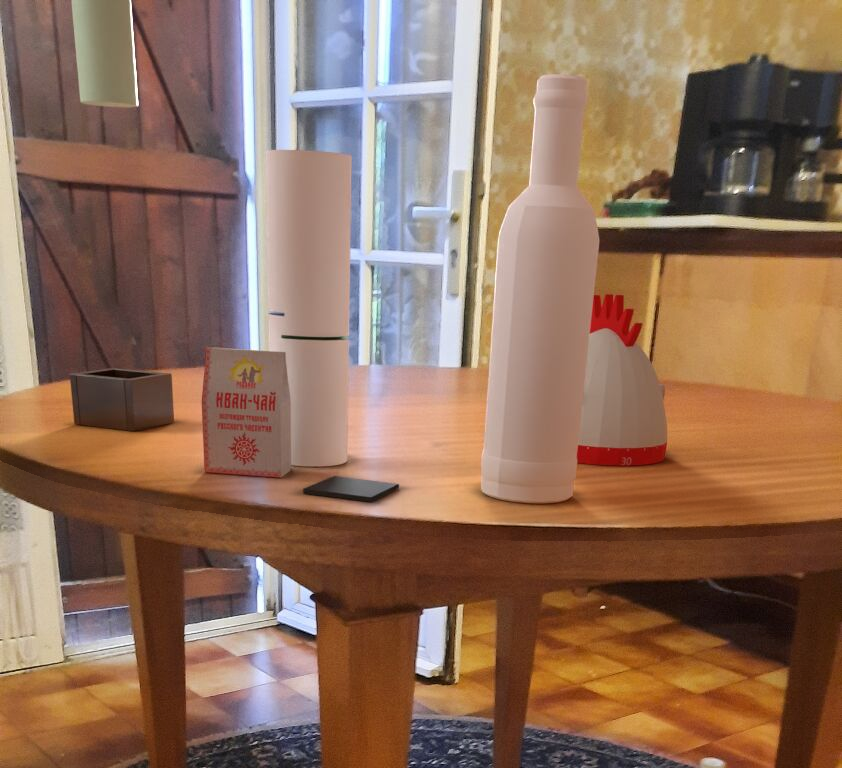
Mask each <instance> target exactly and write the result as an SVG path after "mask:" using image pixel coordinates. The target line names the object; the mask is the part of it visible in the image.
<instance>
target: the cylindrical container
mask: <svg viewBox="0 0 842 768" xmlns="http://www.w3.org/2000/svg"><path fill="white" fill-rule="evenodd" d="M352 157H353V156H352V154H346V153H340V152H334V151H333V152H331V151H323V150H321V151H320V150H307V149H306V150H304V149H268V150H265V192H266V193H265V194H266V197H265V199H266V202H265V203H266V249H267V250H266V253H267V254H266V255H267V256H266V257H267V258H266V259H267V260H266V262H267V263H266V264H267V311H269V312H268V351H276V352H285V353H286V366H287V375H288V383H289V391H290V399H291V466H296V467H312V468H313V467H331V466H332V467H333V466H338V465H343V464H345V463H347V462H348V455H349V454H348V451H349V450H348V448H349V446H348V445H349V386H350V385H349V382H350V377H349V376H350V375H349V374H350V337H349V336H350V313H351V312H350V311H351V310H350V307H351V306H350V305H351V302H350V301H351V300H350V299H351V240H352V239H351V232H352V231H351V229H352V227H351V226H352V167H353V166H352V164H353V163H352V162H353V161H352Z"/></svg>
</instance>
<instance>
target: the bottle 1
mask: <svg viewBox="0 0 842 768" xmlns="http://www.w3.org/2000/svg"><path fill="white" fill-rule="evenodd" d="M70 1H71V13H72V25H73V31H74V32H73V33H74V34H73V36H74V45H75V56H76V57H75V58H76V68H77V78H78V89H79V90H78V91H79V101H80V103H81V104H84V105H89V106H98V107H108V108H110V107H111V108H137V107H139V99H138V98H139V96H138V82H137V69H136V55H135V54H136V53H135V40H134V38H135V37H134V25H133V11H132V10H133V9H132V0H70Z"/></svg>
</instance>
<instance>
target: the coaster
mask: <svg viewBox="0 0 842 768" xmlns="http://www.w3.org/2000/svg"><path fill="white" fill-rule="evenodd" d="M399 489H400V484H399V483H396V482H386V481H379V480H370V479H363V478H353V477H347V476H338V475H333V476H331V477H328V478H326V479H324V480H321V481H318V482H315V483H314V484H311V485H308V486H306V487H304V488H302V493H303V494H304V495H313V496H320V497H328V498H329V497H330V498H334V499H335V498H336V499H343V500H352V501H359V502H366V503H373V502H374V501H376V500H379V499H380V498H383V497H384V496H386V495H389V494H391V493H393V492H394V491H397V490H399Z"/></svg>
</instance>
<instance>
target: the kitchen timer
mask: <svg viewBox="0 0 842 768" xmlns="http://www.w3.org/2000/svg"><path fill="white" fill-rule="evenodd" d="M624 305H625V296H624V295H623V294H615V296H614V294H612V293H605V294H604V297H603V301H602V299H601V294H594V297H593V307H592V316H591V326H590V335H589V345H588V354H587V364H586V373H585V383H584V392H583V402H582V411H581V421H580V430H579V439H578V449H577V464H586V465H596V466H615V467H617V466H618V467H619V466H620V467H621V466H624V467H625V466H627V467H629V466H643V465H654V464H658V463H661V462H663V461H664V460H665V459H666V453H667V445H668V423H667V415H666V407H665V402H664V401H665V397H666V387H665V385H664V384H661V383H660V381H659V378H658V375H657V373H656V370H655V367H654V366H653V364H652V362H651V360H650V358H649V357H648V356H647V353H646V352H645V351H644V349H643V348H642V347H641V346H640V345H639V344H638V343H637V340H638V338H639V335H640V333H641V330H642V327H643V322H634V323H633V325H632V326H631V322H632V320H633V315H634V313H635V312H634V311H635V309H634V308H625V309H624V307H625V306H624ZM630 327H631V328H630Z"/></svg>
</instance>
